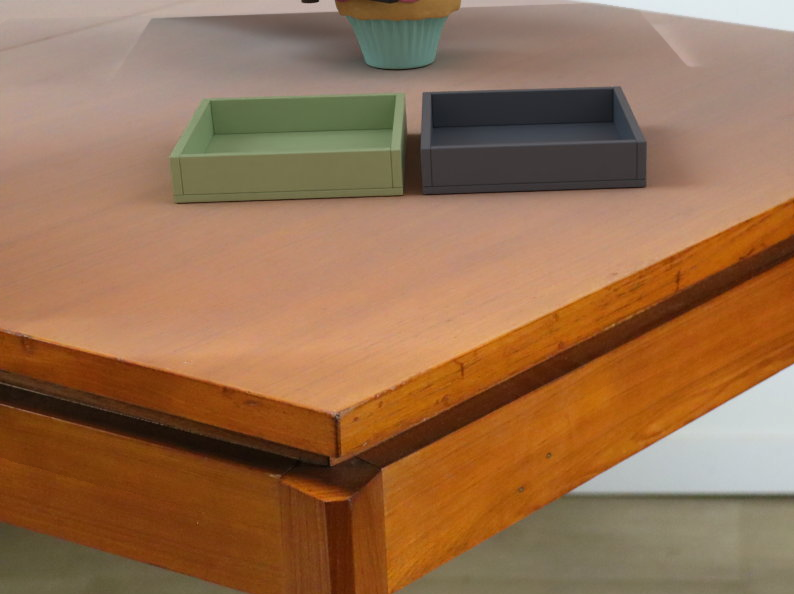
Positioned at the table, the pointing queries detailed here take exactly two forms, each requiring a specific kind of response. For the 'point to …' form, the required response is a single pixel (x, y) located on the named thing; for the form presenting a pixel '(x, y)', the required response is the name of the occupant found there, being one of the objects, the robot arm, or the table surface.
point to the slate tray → (530, 140)
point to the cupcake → (398, 30)
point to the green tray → (292, 148)
